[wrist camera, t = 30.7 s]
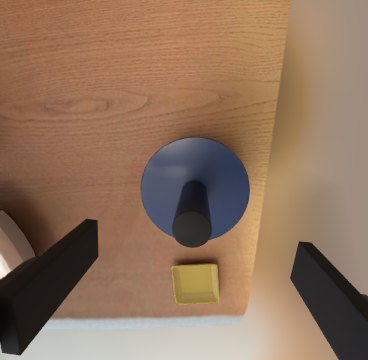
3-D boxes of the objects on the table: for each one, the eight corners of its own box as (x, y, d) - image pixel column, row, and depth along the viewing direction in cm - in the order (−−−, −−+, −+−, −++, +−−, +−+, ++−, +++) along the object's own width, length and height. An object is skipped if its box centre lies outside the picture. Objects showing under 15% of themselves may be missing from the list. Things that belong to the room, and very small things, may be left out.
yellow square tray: (216, 257, 41) (217, 264, 39) (218, 295, 43) (219, 303, 41) (172, 259, 42) (170, 266, 40) (176, 296, 44) (175, 304, 42)
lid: (255, 141, 26) (297, 151, 15) (239, 242, 29) (264, 310, 18) (144, 132, 26) (107, 135, 15) (141, 232, 30) (108, 292, 19)
